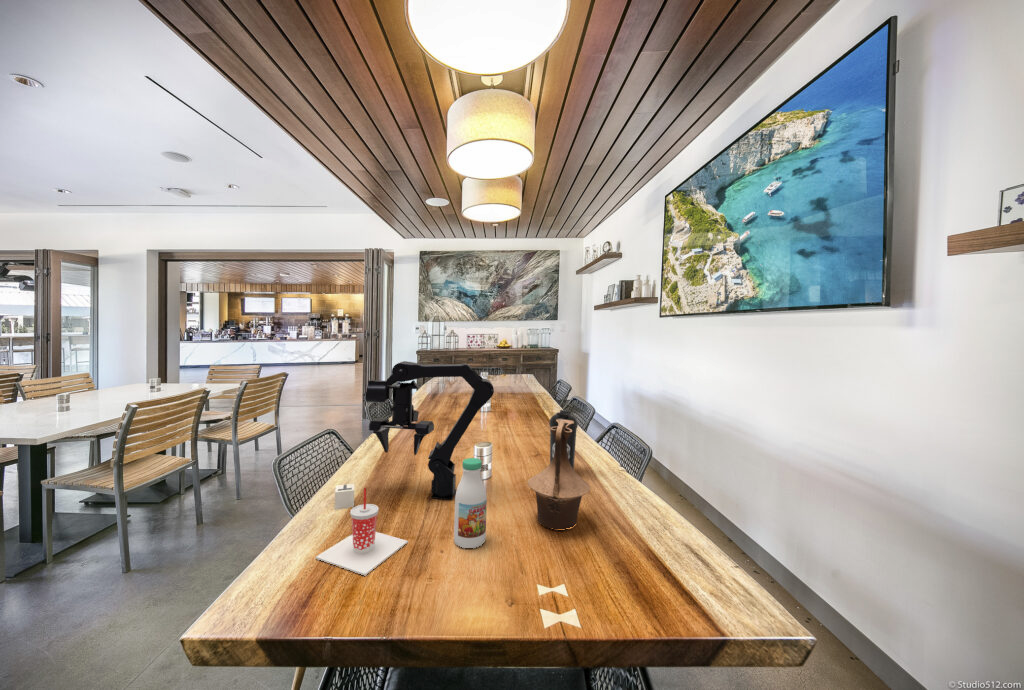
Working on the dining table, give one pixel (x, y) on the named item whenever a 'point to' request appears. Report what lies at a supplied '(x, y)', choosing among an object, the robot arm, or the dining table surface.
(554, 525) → the pitcher
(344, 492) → the letter block
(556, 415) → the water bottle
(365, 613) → the dining table surface
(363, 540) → the beverage cup
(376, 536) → the mat
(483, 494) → the milk bottle
